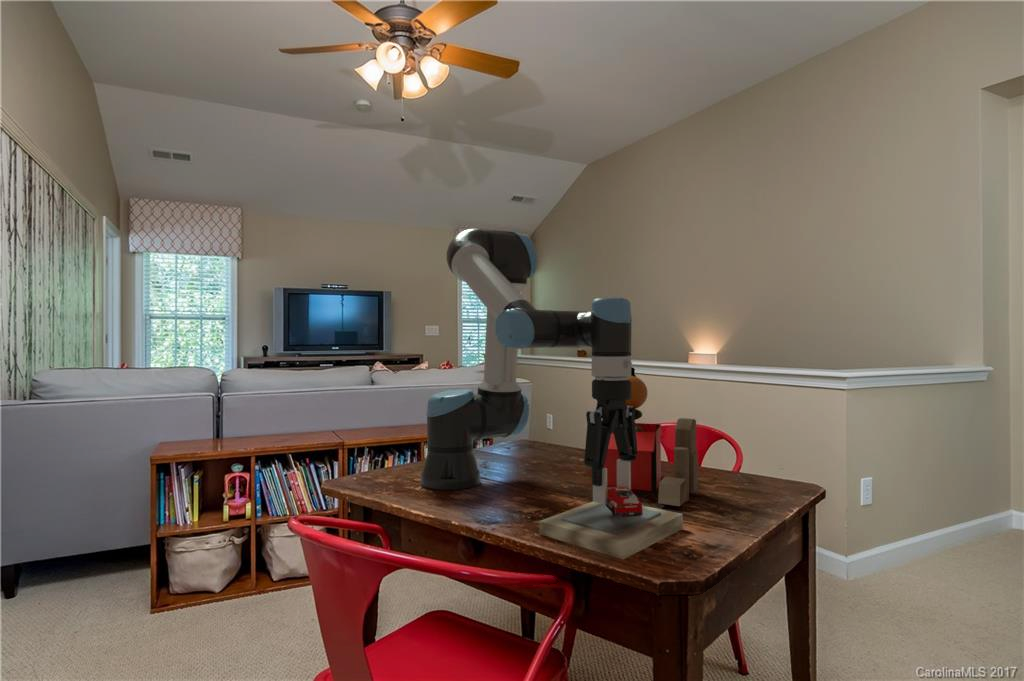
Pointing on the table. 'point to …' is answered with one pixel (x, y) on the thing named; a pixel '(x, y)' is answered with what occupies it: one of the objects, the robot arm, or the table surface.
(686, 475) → the wooden block set
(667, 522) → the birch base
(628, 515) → the race car
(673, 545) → the table surface
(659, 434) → the jack-in-the-box
